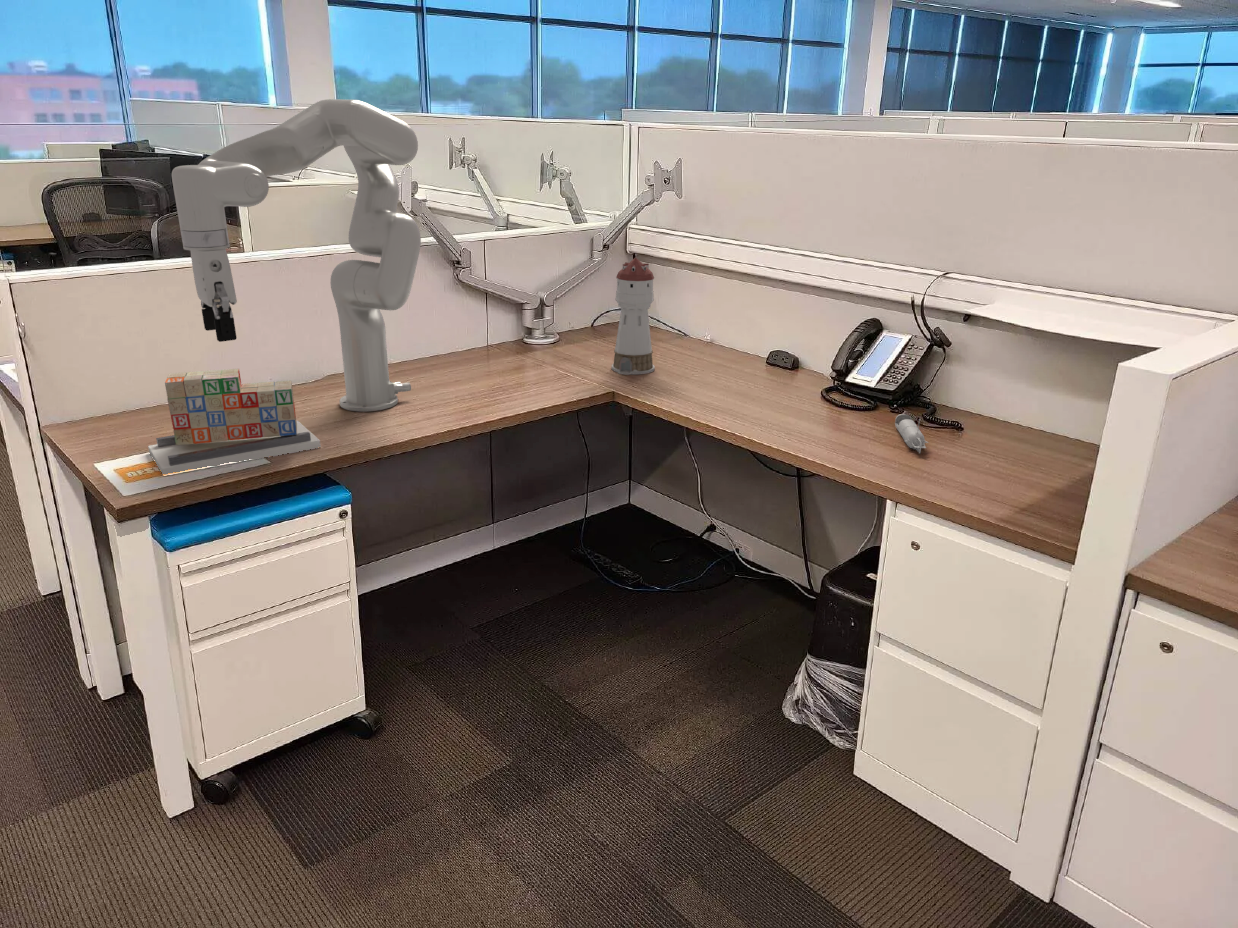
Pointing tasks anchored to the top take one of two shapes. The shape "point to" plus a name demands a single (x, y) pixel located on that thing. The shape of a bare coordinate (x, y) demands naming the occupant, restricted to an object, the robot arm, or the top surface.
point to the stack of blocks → (228, 407)
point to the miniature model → (634, 319)
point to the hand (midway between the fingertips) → (220, 334)
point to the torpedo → (910, 432)
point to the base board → (227, 450)
